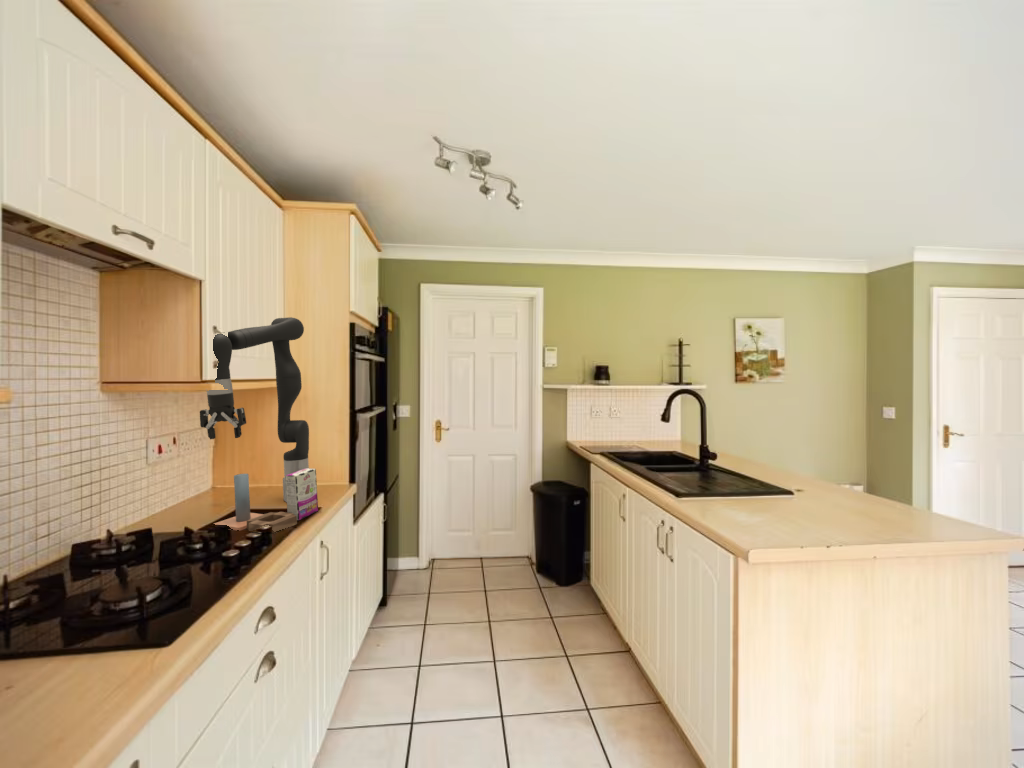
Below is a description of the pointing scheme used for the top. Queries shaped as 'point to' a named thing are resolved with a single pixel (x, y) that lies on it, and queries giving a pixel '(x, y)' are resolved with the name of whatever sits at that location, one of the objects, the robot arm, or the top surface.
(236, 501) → the slate peg
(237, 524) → the terracotta tile
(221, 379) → the robot arm
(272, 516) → the pocket block
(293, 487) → the candy bar box
